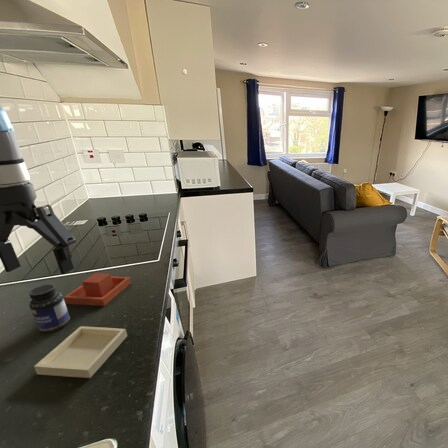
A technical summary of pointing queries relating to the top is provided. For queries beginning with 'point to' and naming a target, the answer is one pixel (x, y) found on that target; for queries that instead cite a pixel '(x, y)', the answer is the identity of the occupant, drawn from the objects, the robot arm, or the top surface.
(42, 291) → the pill bottle
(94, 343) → the cream tray
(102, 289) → the block
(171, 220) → the top surface
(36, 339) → the top surface
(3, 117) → the robot arm
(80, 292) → the terracotta tray
